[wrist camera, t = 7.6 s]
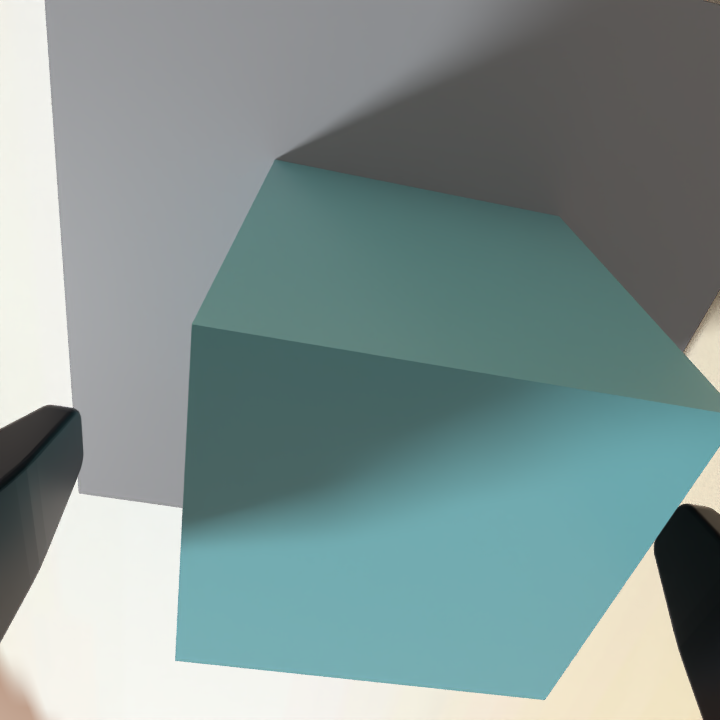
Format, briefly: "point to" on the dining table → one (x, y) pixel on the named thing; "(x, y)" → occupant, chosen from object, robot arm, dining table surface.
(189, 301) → the base board
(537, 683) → the teal block
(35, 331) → the dining table surface
